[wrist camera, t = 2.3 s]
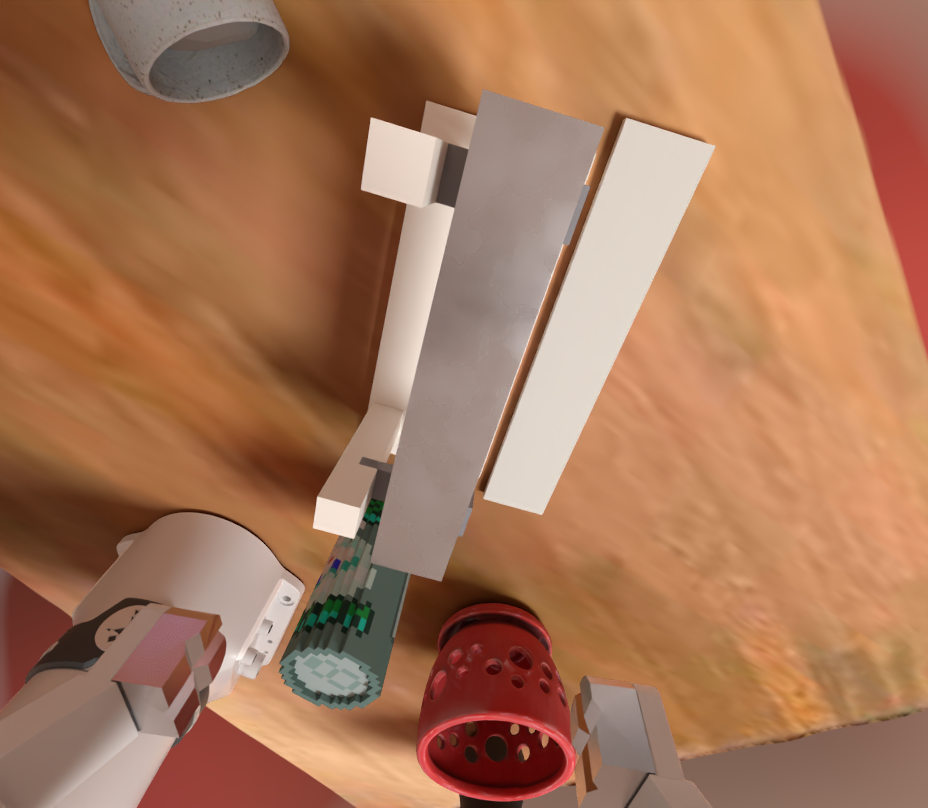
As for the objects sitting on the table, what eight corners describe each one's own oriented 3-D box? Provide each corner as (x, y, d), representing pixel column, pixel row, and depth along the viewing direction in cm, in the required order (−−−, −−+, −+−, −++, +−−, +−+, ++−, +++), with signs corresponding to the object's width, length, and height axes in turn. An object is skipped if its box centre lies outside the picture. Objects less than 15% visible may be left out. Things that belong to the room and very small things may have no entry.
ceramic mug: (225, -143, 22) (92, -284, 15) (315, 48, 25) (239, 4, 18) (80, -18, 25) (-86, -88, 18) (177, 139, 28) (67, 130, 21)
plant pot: (534, 681, 50) (540, 818, 39) (421, 649, 49) (397, 781, 38) (582, 609, 44) (606, 749, 33) (456, 572, 43) (438, 702, 32)
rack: (480, 472, 37) (468, 591, 27) (363, 439, 37) (304, 548, 26) (594, 154, 26) (652, 141, 15) (428, 102, 25) (371, 53, 15)
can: (381, 473, 38) (313, 634, 25) (436, 512, 40) (399, 683, 26) (344, 512, 41) (263, 677, 27) (397, 547, 42) (344, 720, 29)
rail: (448, 540, 30) (441, 581, 27) (384, 523, 29) (370, 562, 26) (589, 134, 18) (604, 127, 15) (487, 102, 18) (482, 89, 15)
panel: (541, 508, 38) (542, 515, 38) (483, 492, 38) (483, 498, 37) (709, 146, 25) (715, 146, 25) (623, 119, 25) (626, 117, 24)
